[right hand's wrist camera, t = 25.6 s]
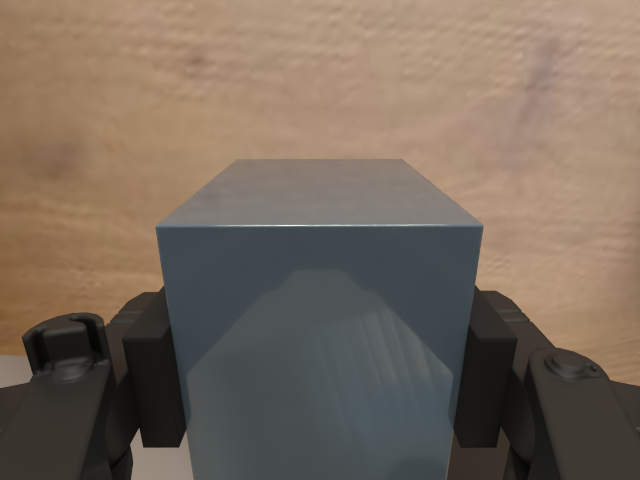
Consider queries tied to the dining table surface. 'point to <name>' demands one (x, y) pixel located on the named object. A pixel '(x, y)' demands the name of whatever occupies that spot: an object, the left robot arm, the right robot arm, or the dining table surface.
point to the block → (319, 319)
